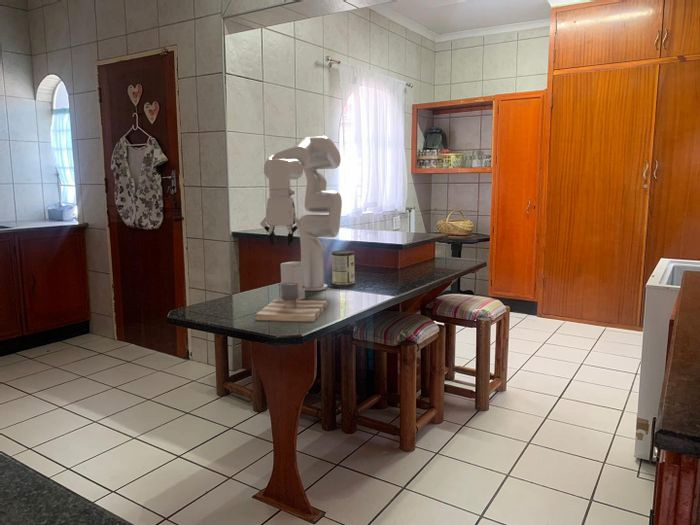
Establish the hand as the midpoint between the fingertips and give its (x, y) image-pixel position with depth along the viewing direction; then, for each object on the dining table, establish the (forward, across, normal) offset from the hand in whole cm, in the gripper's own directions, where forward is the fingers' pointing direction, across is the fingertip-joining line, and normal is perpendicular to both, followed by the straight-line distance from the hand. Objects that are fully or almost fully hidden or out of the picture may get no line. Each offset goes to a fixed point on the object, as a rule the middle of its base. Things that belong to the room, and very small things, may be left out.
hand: (281, 244), depth 196 cm
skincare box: (+24, 0, -12) cm, 27 cm away
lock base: (+24, -4, +8) cm, 25 cm away
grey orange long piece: (+18, -4, +3) cm, 19 cm away
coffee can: (+24, -14, -48) cm, 56 cm away
